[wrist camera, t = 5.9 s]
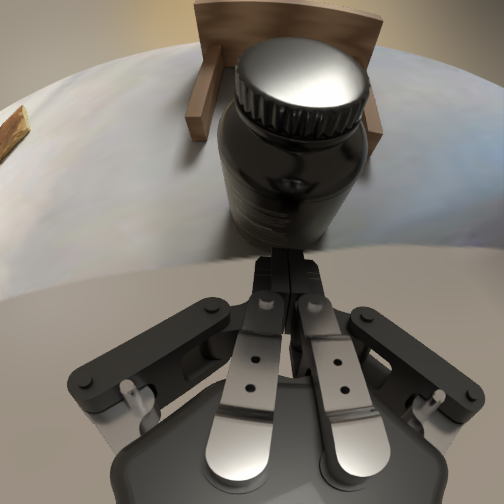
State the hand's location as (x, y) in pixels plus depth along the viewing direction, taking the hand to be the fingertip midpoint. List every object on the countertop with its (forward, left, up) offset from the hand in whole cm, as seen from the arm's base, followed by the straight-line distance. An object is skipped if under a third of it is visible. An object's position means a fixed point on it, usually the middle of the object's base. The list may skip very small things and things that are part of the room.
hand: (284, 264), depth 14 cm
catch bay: (0, -15, -4) cm, 16 cm away
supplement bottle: (0, -5, -5) cm, 7 cm away
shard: (+33, -13, -5) cm, 36 cm away
